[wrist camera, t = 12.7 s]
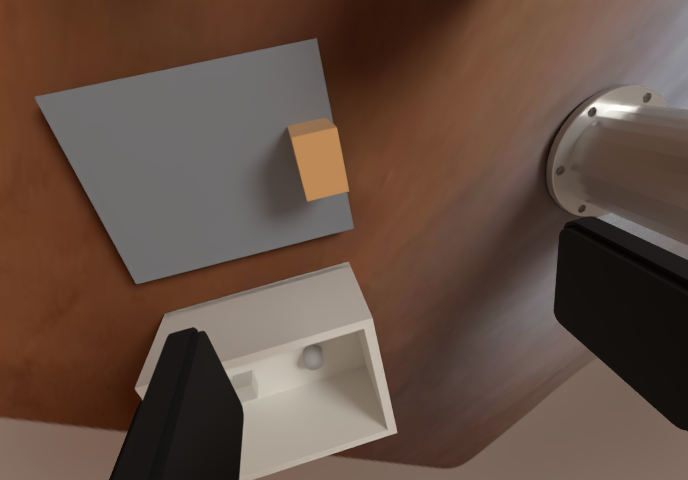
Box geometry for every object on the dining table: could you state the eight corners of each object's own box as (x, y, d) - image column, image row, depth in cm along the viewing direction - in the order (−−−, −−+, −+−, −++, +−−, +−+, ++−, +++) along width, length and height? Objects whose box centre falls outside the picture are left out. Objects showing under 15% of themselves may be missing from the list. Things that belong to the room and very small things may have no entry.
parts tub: (348, 261, 36) (372, 317, 28) (372, 363, 42) (397, 432, 34) (164, 313, 34) (134, 388, 26) (218, 410, 41) (206, 494, 33)
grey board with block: (313, 40, 27) (327, 32, 21) (348, 219, 34) (367, 254, 28) (51, 94, 26) (-19, 104, 19) (144, 271, 33) (114, 321, 26)
